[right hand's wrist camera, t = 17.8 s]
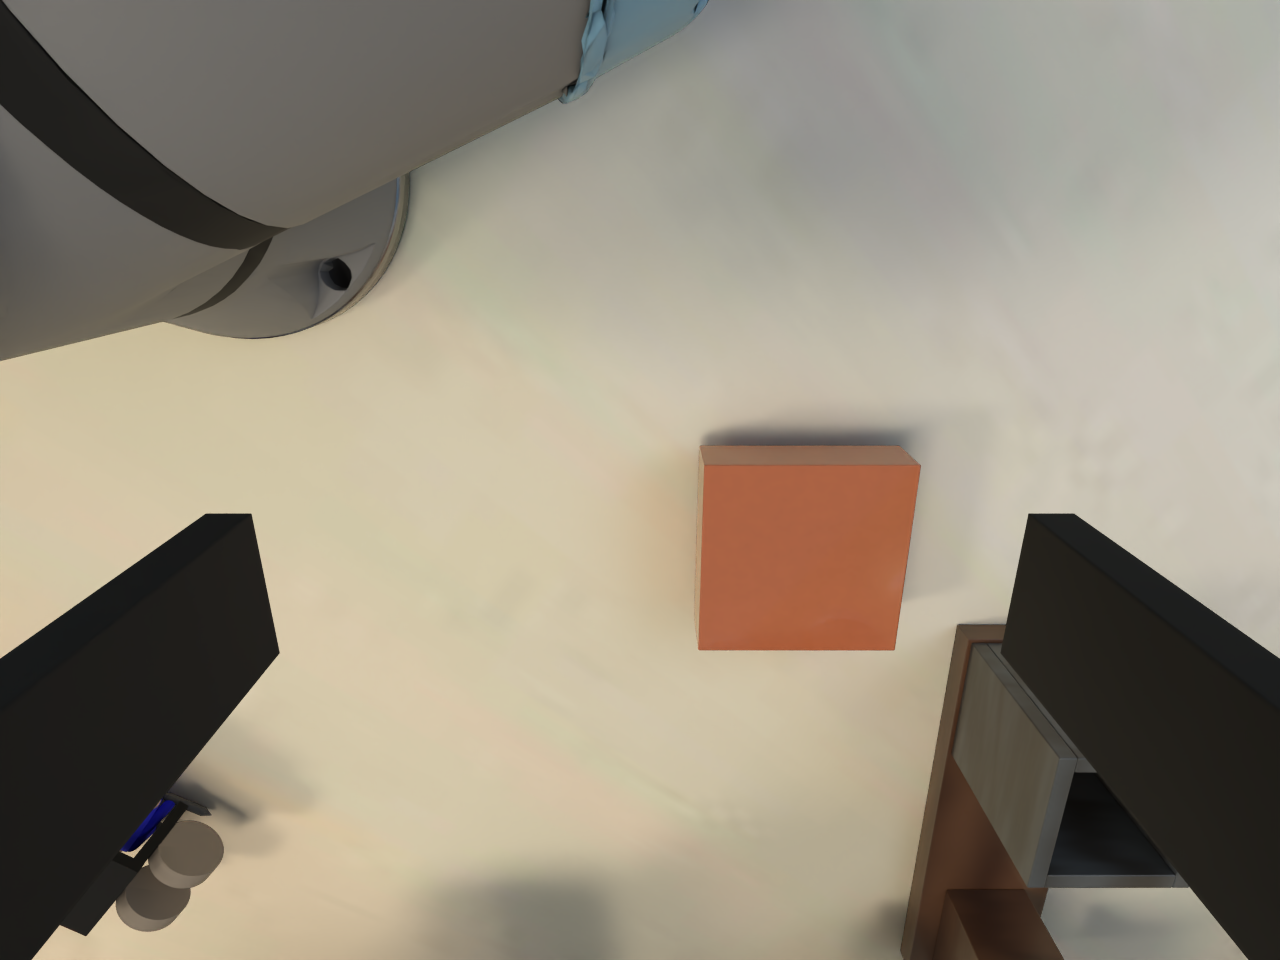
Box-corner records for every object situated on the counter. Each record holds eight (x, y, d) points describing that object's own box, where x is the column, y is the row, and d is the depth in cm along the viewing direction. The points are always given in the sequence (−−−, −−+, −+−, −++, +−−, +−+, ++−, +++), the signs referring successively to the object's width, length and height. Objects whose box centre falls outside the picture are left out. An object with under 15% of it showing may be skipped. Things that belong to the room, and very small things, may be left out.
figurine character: (260, 787, 47) (16, 679, 42) (207, 897, 40) (-91, 783, 35) (211, 848, 49) (-29, 751, 44) (152, 963, 42) (-139, 864, 37)
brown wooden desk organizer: (900, 950, 50) (970, 1151, 40) (957, 624, 41) (1068, 771, 31) (1015, 950, 50) (1118, 1152, 40) (1098, 624, 41) (1259, 771, 31)
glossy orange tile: (692, 608, 41) (698, 650, 37) (697, 437, 37) (704, 465, 34) (870, 608, 41) (895, 651, 37) (892, 438, 37) (921, 465, 34)
